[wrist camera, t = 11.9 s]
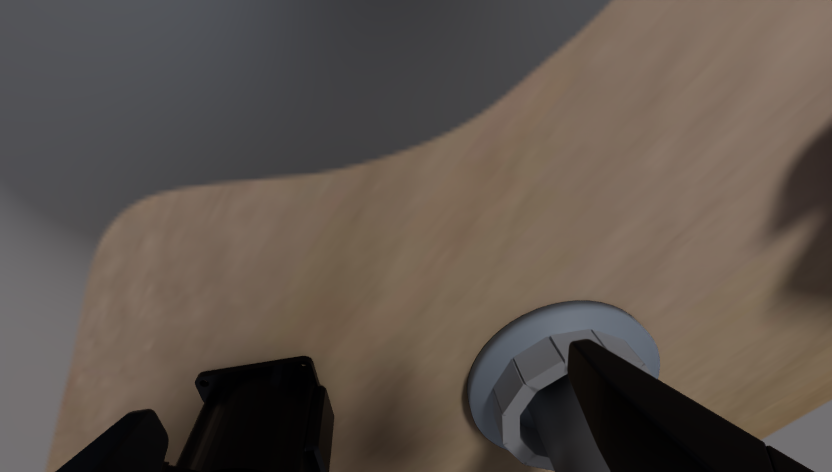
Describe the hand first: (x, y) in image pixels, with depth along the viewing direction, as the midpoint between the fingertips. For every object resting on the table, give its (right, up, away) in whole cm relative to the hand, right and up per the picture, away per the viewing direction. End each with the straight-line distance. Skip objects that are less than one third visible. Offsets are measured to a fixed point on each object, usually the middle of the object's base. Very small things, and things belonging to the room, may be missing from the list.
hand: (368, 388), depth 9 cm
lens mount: (+10, -6, +17) cm, 21 cm away
